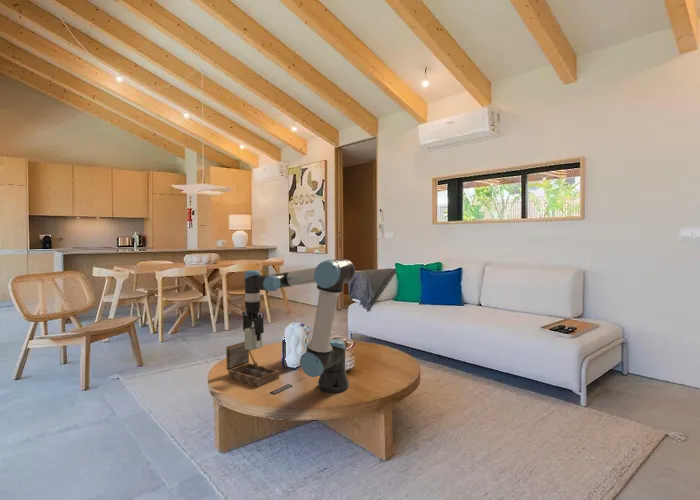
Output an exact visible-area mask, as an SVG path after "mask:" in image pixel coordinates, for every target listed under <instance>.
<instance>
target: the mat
mask: <svg viewBox="0 0 700 500" xmlns="http://www.w3.org/2000/svg"><path fill="white" fill-rule="evenodd" d="M290 388H293V384H290V383H288V384H285V385H283V386H281V387H279V388H276V389H275V390H272V391H270V392H269V393H270V394H273V395H277V394H279V393H281V392H283V391H285V390H287V389H290Z"/></svg>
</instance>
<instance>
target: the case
mask: <svg viewBox="0 0 700 500" xmlns="http://www.w3.org/2000/svg"><path fill="white" fill-rule="evenodd" d="M225 349H226V371H228V379H230V380H234V381H237V382H240V383H244V384H247V385H250V386H253V387H256V388H261V387H263V386H265V385H267V384H269V383H272V382H274V381H276V380H279V379H280V370H278V369H277V370H276V369H274V368H269V367H266V366H262V365H258V362H257V361H255V358H254V356H253V354H252V350H248V349H245V341H242V342H241V341H240V342H238V343H236V344H230V345H228V346H226V347H225ZM249 355H250V356H249ZM249 357H250V359H252V362H253V363H250V359H249Z"/></svg>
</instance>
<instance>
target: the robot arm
mask: <svg viewBox="0 0 700 500" xmlns="http://www.w3.org/2000/svg"><path fill="white" fill-rule="evenodd" d="M260 273H261V272H260V271H259V270H258V269H252V270H251V269H250V270H249V269H248V270H246V271H245V272H244V279H243V280H244V300H245V302H244V309H245V311H243V312H241V315H242V331H243V332H245V329H247V328H250V327H253V326H255V331H256V334H255V348H257V347H260V340H261V338H260V337H261V336H260V335H261V334H262V335H263V334H264V333H265V332H264V331H265V330H264V318H265V317H264V316H265V314H264V313H261V311H260V308H261V301H260V300H261V291H267V292H276V291H278V290H279V289H282V288H289V287H294V286H296V287H297V286H302V285H304V286H305V285H311V284H316V289H317V290H318V291H319V293H318V299H317V305H316V312H315V317H314V323H313V328H312V334H311V335H312V336H311V339H310V342H309V343H308V344H307V350H306V353H304V354H303V355H302V356H301V358H300V365H301V366H300V368H301V369H302V371H303V373H304V374H305V375H306V376H308V377H311V378H316V377H319V378H318V382H317V388H318V389H319V390H320V391H322V392H325V393H340V392H345V391H346V390H348V389H349V386H350V382H349V380H348V374H347V372H346V343H345V342H344V340H340V339H333V338H332V333H333V327H334V326H333V325H334V322H335V316H336V312H337V311H336V309H337V306H338V305H337V304H338V298H339V295H340V294H342V292H343V290H344V284H347V283H349V282H350V281H352V280H353V279H354V277H355V274H356V268H355V265H354V263H353V262H352V261H351V260H349V259H347V258H335V259H327V260H323V261H322V262H319V264H317V266H315V267H311V268H310V267H309V268H305V269H297V270H294V271H287V272H286V271H285V272H281V273H274V274H267V275H266V274H263V275H262V274H260ZM252 325H253V326H252ZM331 338H332V339H331ZM257 349H258V348H257Z"/></svg>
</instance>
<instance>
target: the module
mask: <svg viewBox="0 0 700 500" xmlns="http://www.w3.org/2000/svg"><path fill="white" fill-rule="evenodd" d="M255 334H256V331H255V326H254V325H253V326H252V327H250V328H247V329H245V331H244V342H245V349H248V350H250V351H254V350H257V349H260V348H262V347H263V333H262V334H261V335H260V336H261V337H260V338H261V340H260V347H257V348H255Z"/></svg>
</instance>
